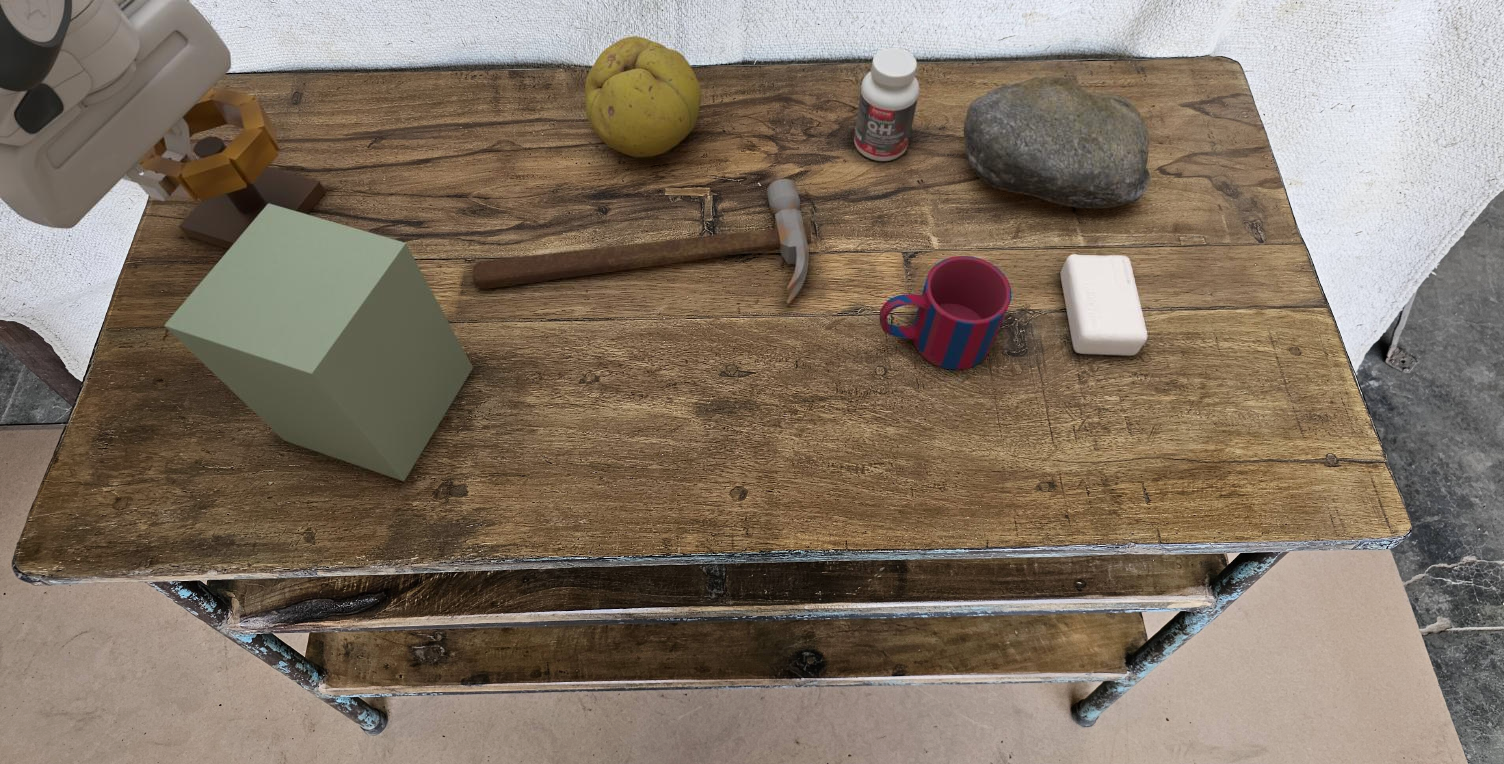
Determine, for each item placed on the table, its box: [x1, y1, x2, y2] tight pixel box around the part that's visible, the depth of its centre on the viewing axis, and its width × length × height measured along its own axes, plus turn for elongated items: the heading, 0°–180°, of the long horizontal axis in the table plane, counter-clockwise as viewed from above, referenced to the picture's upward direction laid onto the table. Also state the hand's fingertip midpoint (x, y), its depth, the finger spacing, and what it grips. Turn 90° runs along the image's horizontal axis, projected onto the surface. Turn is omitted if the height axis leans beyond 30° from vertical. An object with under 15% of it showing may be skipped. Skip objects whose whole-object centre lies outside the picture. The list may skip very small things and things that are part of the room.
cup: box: [879, 255, 1012, 371], centre depth 70 cm, size 7×10×7 cm
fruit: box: [584, 36, 703, 158], centre depth 80 cm, size 11×12×10 cm
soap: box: [1060, 253, 1149, 357], centre depth 72 cm, size 9×6×3 cm, turn 177°
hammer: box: [472, 178, 812, 308], centre depth 75 cm, size 12×3×30 cm
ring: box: [139, 86, 281, 202], centre depth 72 cm, size 10×10×3 cm
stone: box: [963, 75, 1151, 209], centre depth 78 cm, size 17×13×10 cm
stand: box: [178, 136, 326, 250], centre depth 76 cm, size 9×9×8 cm
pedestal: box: [164, 204, 474, 482], centre depth 62 cm, size 11×11×16 cm
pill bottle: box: [853, 47, 920, 162], centre depth 80 cm, size 5×5×10 cm
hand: (176, 181), depth 71 cm, fingers closed on ring
